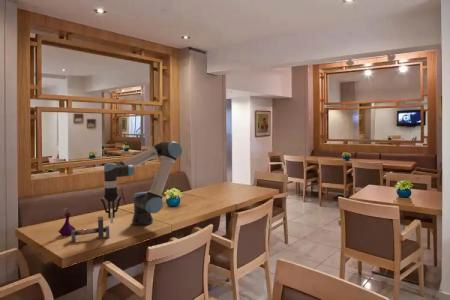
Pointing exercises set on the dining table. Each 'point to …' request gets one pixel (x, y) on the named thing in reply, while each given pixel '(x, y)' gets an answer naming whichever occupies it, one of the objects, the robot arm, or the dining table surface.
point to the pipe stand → (88, 232)
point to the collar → (100, 227)
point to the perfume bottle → (66, 225)
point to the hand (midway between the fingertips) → (111, 222)
